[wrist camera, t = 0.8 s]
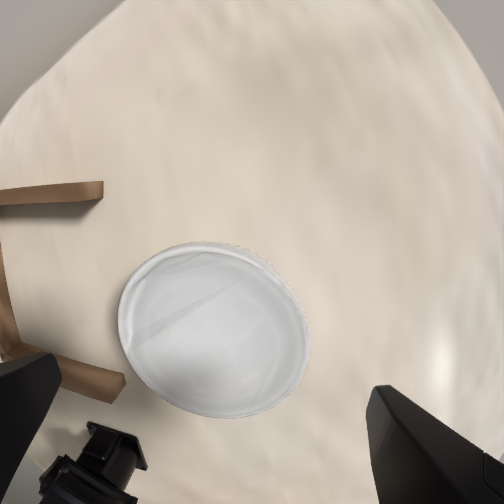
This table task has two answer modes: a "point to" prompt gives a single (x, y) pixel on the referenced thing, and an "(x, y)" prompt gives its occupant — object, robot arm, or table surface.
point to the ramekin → (214, 330)
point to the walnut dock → (3, 323)
